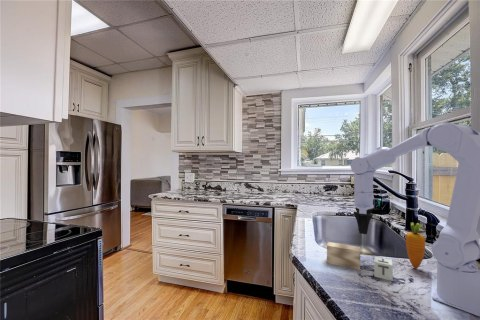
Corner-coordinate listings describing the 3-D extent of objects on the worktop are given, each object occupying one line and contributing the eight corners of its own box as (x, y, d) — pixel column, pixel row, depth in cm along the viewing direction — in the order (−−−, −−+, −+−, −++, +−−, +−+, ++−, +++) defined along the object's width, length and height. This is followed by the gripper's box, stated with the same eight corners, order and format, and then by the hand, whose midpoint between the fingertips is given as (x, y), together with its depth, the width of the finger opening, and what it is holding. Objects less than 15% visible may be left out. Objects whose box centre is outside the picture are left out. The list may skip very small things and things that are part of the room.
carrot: (406, 263, 75) (406, 219, 75) (425, 268, 71) (425, 222, 72) (405, 269, 71) (405, 222, 71) (425, 274, 68) (425, 225, 68)
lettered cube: (391, 274, 68) (391, 259, 68) (392, 281, 64) (392, 265, 64) (374, 270, 70) (374, 255, 70) (374, 276, 66) (374, 261, 66)
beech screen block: (360, 265, 74) (360, 247, 74) (360, 270, 70) (360, 251, 70) (328, 258, 78) (328, 241, 79) (326, 263, 75) (326, 245, 75)
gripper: (352, 189, 85) (352, 224, 85) (348, 193, 73) (348, 234, 73) (373, 190, 82) (373, 226, 82) (373, 195, 69) (373, 238, 69)
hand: (363, 230), depth 77 cm, fingers open, 7 cm apart
